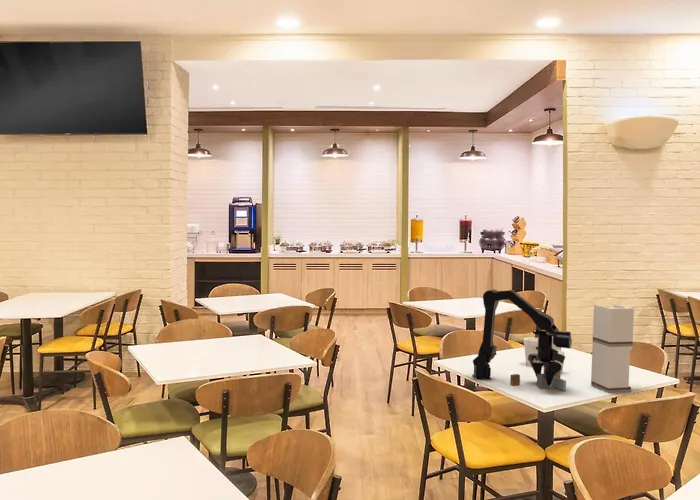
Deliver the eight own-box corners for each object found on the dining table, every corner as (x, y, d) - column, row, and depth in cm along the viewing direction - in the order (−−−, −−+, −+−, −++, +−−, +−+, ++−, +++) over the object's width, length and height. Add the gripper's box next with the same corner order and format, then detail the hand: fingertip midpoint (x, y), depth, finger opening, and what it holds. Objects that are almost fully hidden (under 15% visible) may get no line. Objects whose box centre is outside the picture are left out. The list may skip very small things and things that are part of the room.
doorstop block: (541, 389, 240) (541, 376, 240) (536, 386, 244) (537, 373, 244) (550, 388, 241) (550, 375, 241) (545, 386, 245) (546, 373, 245)
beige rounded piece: (565, 375, 263) (565, 353, 263) (547, 374, 265) (547, 352, 264) (562, 371, 271) (562, 350, 270) (544, 370, 272) (545, 349, 272)
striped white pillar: (630, 392, 238) (634, 308, 237) (608, 393, 236) (611, 308, 234) (612, 384, 249) (615, 304, 248) (591, 385, 247) (593, 304, 246)
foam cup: (522, 366, 279) (522, 340, 278) (523, 362, 287) (524, 336, 287) (542, 368, 275) (543, 341, 274) (543, 364, 284) (544, 338, 283)
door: (546, 382, 250) (546, 373, 250) (551, 382, 250) (551, 373, 250) (563, 390, 238) (564, 381, 237) (568, 390, 238) (568, 380, 238)
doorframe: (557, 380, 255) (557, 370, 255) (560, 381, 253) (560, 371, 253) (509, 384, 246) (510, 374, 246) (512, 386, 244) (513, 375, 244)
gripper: (574, 350, 234) (573, 387, 234) (552, 340, 252) (550, 375, 253) (548, 350, 232) (547, 388, 233) (528, 341, 251) (527, 376, 251)
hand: (543, 382), depth 243 cm, fingers open, 9 cm apart
